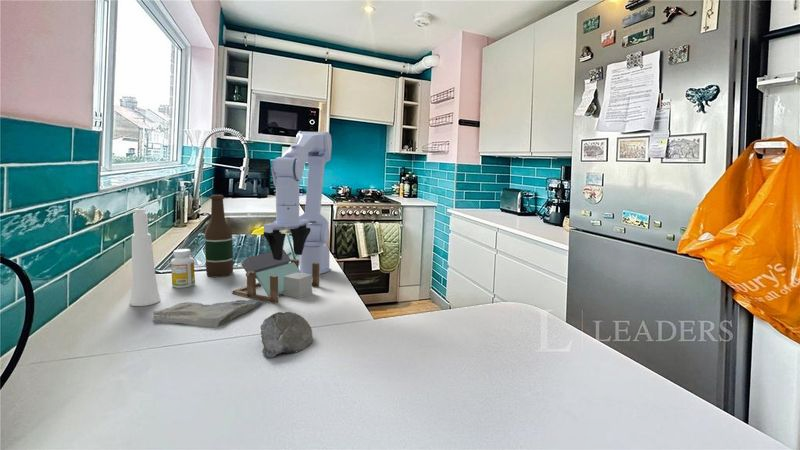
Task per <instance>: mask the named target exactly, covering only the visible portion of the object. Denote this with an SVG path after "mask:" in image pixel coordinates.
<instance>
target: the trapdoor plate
mask: <svg viewBox="0 0 800 450" xmlns="http://www.w3.org/2000/svg"><path fill="white" fill-rule="evenodd" d="M291 260H292V259H291V258H290V256H289V255H288V254H287V253H286V251H285V249H284V248H283V253H282V260H274V258H273V255H272V251H270V252H265V253H261V254H258V255H251V256H248V257H246V258H245V259H244V260H243V262H242V263H241V264H240V265H241V267H242V268H243V269H244V271H245V273H247V271H253V272H256V281H258V282H257V283H260V285H261V286H260V287H262V289H263V290H264V292H265V293H266V296H267V297H270V276H272V275H275V276H278V295H279V294H281V293H284V276H287V275H290V274H293V273H296V272H298V273H301V271H300V268H299V269H298V267H297V266H296V264H295V263H294V262H293V263H291Z"/></svg>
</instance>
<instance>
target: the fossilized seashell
mask: <svg viewBox="0 0 800 450" xmlns="http://www.w3.org/2000/svg"><path fill="white" fill-rule="evenodd" d="M260 335H261V336H260V337H261V344H262V345H263V349H262V350H261V352H262V354H263V355H264V356H265V357H268V358H270V359H273V358H275V357H276V356H277V355H278V354H282V353H285V354H286V353H289V354H294V353H293V352H295V353H297V352H296V351H298V352H300V351H303V350H304V348H305V349H306V348H308V347H309V346H310V345H311V344H312V341H313V329H312V326H311V325H310V323H309V322H308V321H307V320H306V318H305V317H303V316H302V315H300V314H299V313H296V312H292V311H285V312H283V311H279V312H275V313H273V314H272V315H269V316H268V317H267V318H265V319H263V322H262V324H261V325H260ZM302 349H303V350H302Z"/></svg>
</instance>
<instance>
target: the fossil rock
mask: <svg viewBox="0 0 800 450" xmlns="http://www.w3.org/2000/svg"><path fill="white" fill-rule="evenodd" d="M262 302H263V300H258V299H247V300H246V299H245V300H243V299H240V300H238V299H237V300H232V301H226V302H217V303H212V304H204V303H200V302H191V301H190V302H180V303H177V304H174V305H173V306H170V307H167V308H163V309H161V310H158V311H153V320H154V322H155V323H159V324H184V325H189V326H197V327H212V328H213V327H215V328H216V327H219V326H221V325H222V324H225V323H227V322H230V321H232V320H233V319H235V318H236V317H238V316H240V315H244V314H245V313H248V312H249V311H251V310H253V309H254V308H257V306H260V305H261V304H262Z"/></svg>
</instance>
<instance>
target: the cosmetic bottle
mask: <svg viewBox="0 0 800 450" xmlns="http://www.w3.org/2000/svg"><path fill="white" fill-rule="evenodd" d="M133 211H134V213H133V214H132V220H133V221H132V222H133V234H131V291H130V299H129V305H130V306H133V307H144V306H145V307H146V306H151V305H154V304H157V303H159V302H160V301H161V297H160V292H159V288H158V282H157V275H156V268H155V260H154V259H155V258H154V251H153V244H152V242H153V241H152V234H151V233H149V221H148V220H149V219H148V213H147V212H146V211H147V210H146V208H134V209H133Z"/></svg>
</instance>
